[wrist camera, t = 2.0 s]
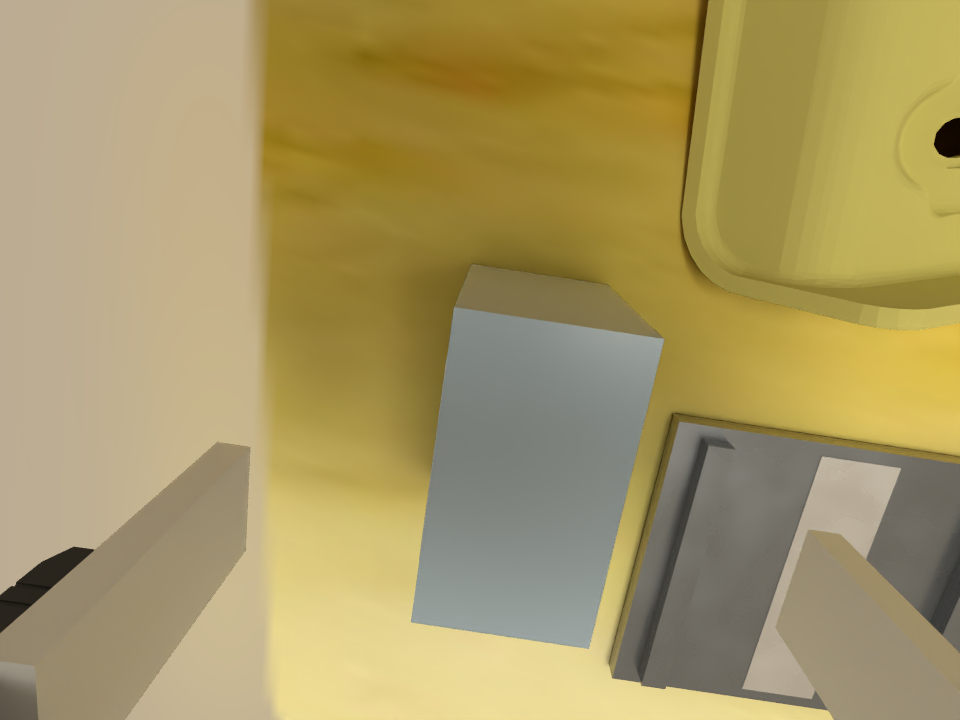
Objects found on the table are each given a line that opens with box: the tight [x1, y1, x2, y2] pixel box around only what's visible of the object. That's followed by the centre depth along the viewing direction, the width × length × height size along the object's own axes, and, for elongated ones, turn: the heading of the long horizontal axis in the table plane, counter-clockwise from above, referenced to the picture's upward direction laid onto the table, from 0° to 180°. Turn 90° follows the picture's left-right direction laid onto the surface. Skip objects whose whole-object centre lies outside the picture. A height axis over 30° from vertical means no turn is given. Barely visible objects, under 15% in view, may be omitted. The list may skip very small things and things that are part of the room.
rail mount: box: [609, 414, 960, 710], centre depth 24 cm, size 12×14×2 cm
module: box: [411, 264, 664, 649], centre depth 19 cm, size 9×5×8 cm, turn 172°
